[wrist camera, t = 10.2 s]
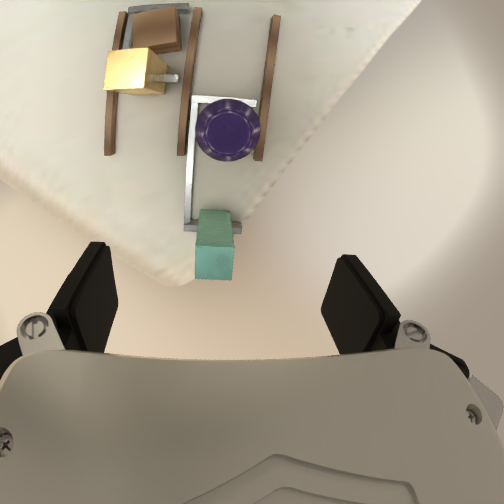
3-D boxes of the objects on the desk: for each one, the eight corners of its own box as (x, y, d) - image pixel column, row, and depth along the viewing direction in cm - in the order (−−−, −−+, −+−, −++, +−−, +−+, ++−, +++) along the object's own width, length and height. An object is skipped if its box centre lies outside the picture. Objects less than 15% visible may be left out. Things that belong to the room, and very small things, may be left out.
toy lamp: (207, 147, 31) (199, 179, 17) (199, 109, 29) (183, 104, 14) (248, 138, 31) (277, 163, 17) (241, 100, 29) (265, 89, 15)
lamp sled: (193, 96, 28) (183, 89, 19) (254, 101, 29) (270, 96, 21) (184, 235, 36) (176, 277, 27) (238, 238, 37) (247, 280, 28)
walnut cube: (142, 25, 23) (132, 14, 19) (180, 18, 23) (175, 5, 19) (143, 57, 25) (132, 49, 21) (181, 50, 25) (176, 41, 21)
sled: (132, 11, 22) (105, -19, 13) (190, 8, 23) (181, -27, 14) (120, 95, 27) (84, 92, 18) (177, 94, 28) (161, 87, 19)
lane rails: (123, 15, 22) (119, 12, 20) (277, 19, 25) (280, 15, 23) (108, 153, 30) (104, 155, 28) (259, 159, 33) (262, 161, 31)
